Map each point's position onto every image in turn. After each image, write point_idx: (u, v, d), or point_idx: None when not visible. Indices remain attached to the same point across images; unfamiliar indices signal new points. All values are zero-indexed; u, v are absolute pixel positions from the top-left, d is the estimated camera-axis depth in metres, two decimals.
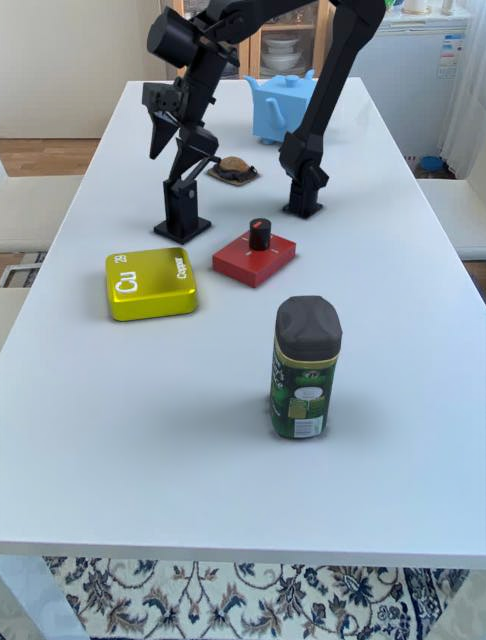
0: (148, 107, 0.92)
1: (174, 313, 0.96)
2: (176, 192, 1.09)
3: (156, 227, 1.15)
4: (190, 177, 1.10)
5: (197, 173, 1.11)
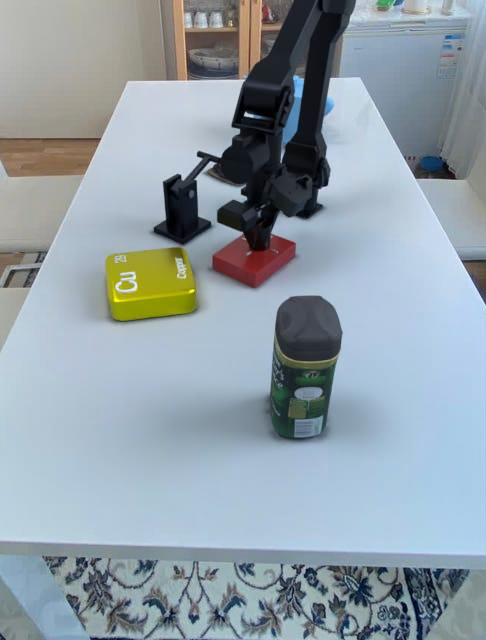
0: (302, 208, 0.96)
1: (174, 313, 0.96)
2: (176, 192, 1.09)
3: (156, 227, 1.15)
4: (190, 177, 1.10)
5: (197, 173, 1.11)
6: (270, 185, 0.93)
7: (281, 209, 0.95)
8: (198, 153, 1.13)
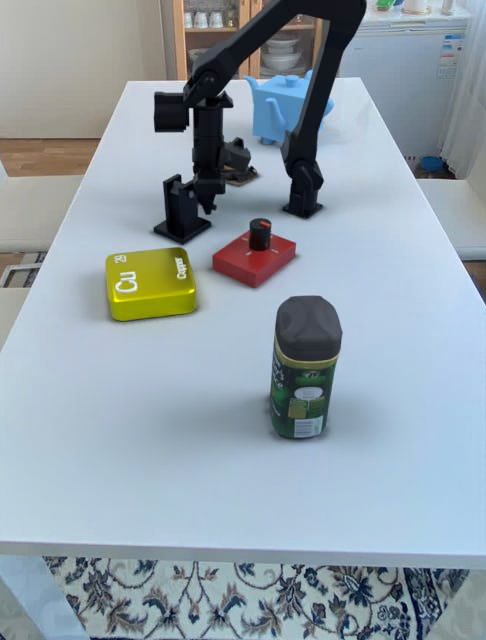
0: None
1: (174, 313, 0.96)
2: (180, 183, 1.08)
3: (156, 227, 1.15)
4: None
5: None
6: (224, 150, 1.09)
7: (237, 168, 1.11)
8: None
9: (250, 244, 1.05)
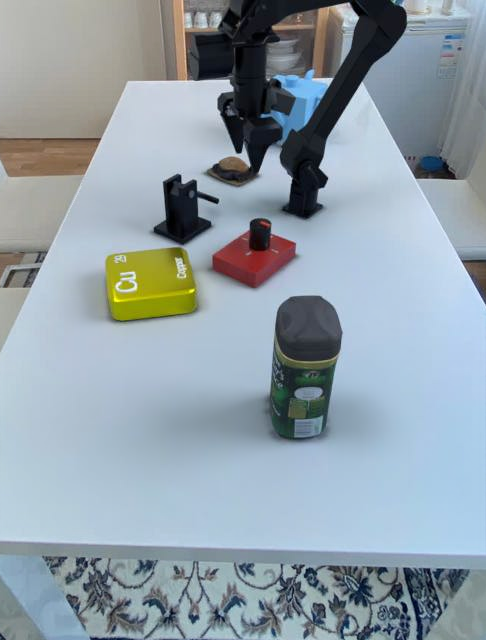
0: None
1: (174, 313, 0.96)
2: (179, 184, 1.08)
3: (156, 227, 1.15)
4: None
5: (197, 194, 1.14)
6: (270, 92, 0.99)
7: (283, 111, 1.02)
8: (198, 191, 1.18)
9: (250, 244, 1.05)
